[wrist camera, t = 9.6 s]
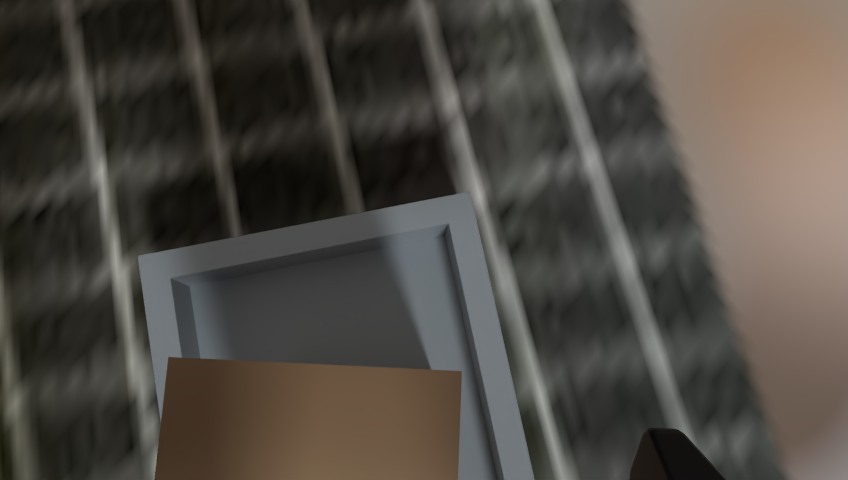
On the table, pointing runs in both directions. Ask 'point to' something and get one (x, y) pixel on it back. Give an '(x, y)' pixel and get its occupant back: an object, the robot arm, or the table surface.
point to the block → (307, 422)
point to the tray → (351, 310)
